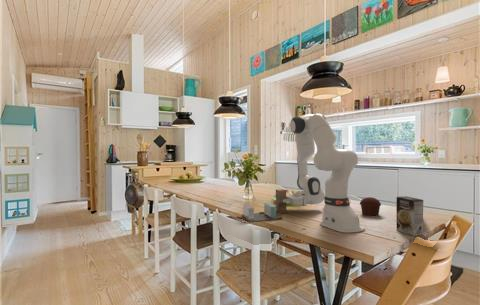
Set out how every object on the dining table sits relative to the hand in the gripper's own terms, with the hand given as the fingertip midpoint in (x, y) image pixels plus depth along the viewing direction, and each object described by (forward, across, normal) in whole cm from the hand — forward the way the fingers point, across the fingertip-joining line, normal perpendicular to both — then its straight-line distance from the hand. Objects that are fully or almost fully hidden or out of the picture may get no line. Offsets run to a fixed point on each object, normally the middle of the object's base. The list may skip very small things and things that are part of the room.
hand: (279, 199), depth 167 cm
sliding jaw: (+10, +8, +7) cm, 15 cm away
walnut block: (-1, 0, +8) cm, 8 cm away
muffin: (-49, +21, +8) cm, 54 cm away
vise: (+15, +8, +8) cm, 19 cm away
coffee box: (-43, +54, +8) cm, 69 cm away
